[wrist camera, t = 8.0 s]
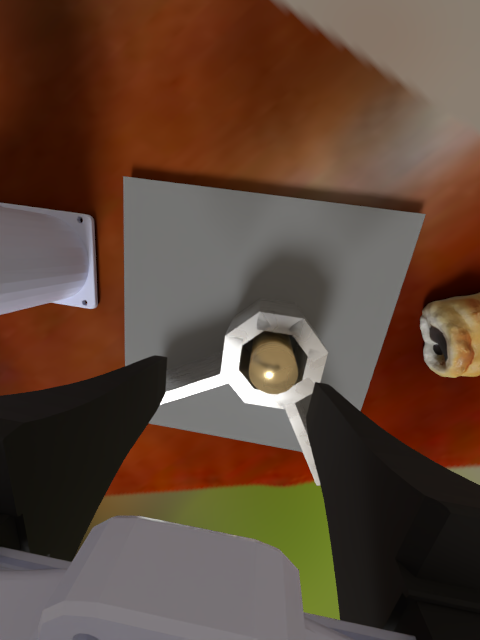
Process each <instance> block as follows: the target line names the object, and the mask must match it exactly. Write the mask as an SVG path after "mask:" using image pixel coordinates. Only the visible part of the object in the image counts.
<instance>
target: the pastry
mask: <svg viewBox="0 0 480 640" xmlns="http://www.w3.org/2000/svg"><path fill="white" fill-rule="evenodd" d="M422 313H423V315H422V316H421V318H420V329H421V332H422V336H423V339H424V341H425V345H424V350H423V353H424V360H425V362H426V364H427V365H428V366H429V368H430V369H431V370H433V371H434V372H435V373H437V374H438V375H440V376H443V377H452V378H455V377H458V376H471V377H473V376H479V375H480V292H479V293H477V294H473V295H468V296H458V297H452V298H448V299H444V300H439V301H434V302H431V303H429V304H427V306H426V307H425V308H424V309H423V310H422Z"/></svg>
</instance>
